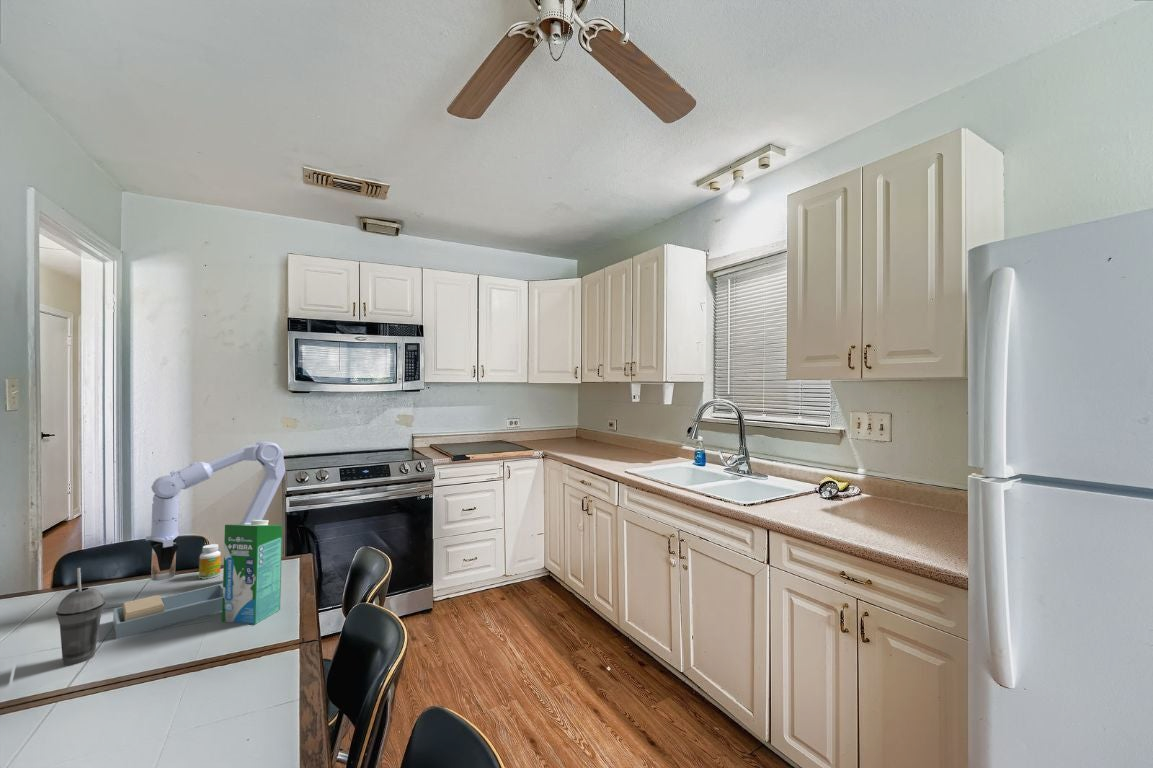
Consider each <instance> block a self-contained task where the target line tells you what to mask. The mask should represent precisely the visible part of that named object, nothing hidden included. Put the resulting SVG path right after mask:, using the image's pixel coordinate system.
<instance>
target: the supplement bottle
mask: <svg viewBox="0 0 1153 768" xmlns="http://www.w3.org/2000/svg"><path fill="white" fill-rule="evenodd" d="M221 558H222V554H221V551H219V544H216V543H212V544H206V545H203V546H202V553H200V555H199V561H198V562H199V566H198V568H199V569H198V578H199V579H200V578H202V579H201V580H207V579H206V578H209V579H213V577H214V578H216V577H218V576H220V575H219V574H221V561H222V560H221Z"/></svg>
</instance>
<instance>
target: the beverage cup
mask: <svg viewBox="0 0 1153 768" xmlns="http://www.w3.org/2000/svg"><path fill="white" fill-rule="evenodd" d="M76 573H77V575H76V577H77V589H75V590H73V591H71V592H70V593H68V594H66V596H65V597H63V599H61V601H60V602H59V604H58V606H57V611H56V613H55V614H56V616H57V621H58V624H59V632H60V643H61V644H60V645H61V657H62V662H63V665H64V666H73V665H78V664H81V663H84V662H87V661H89V660H90V659H93V658H94V656H95V652H96V650H97V644H98V639H99V632H100V631H99V630H100V624H101V618H102V617H101V616H102V614H103V611H104V608H105V607H104V606H105V604H106V602H105V599H104V595H103V594H102V592H101V591H100V590H99V589H97V588H93V587H82V573H81V567H78V568H76Z"/></svg>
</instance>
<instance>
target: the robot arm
mask: <svg viewBox="0 0 1153 768" xmlns="http://www.w3.org/2000/svg"><path fill="white" fill-rule="evenodd" d="M284 455H285V453H284V451H283V450H282V448H281V447H280V445H278V444H277V443H275V442H271V441H268V440H260V441H257V442H256V443H251V444H250V443H249V444H248V445H245V446H243V447H241V448H238V449H236V450H233V451H231V452H230V453H227V454H224V455H223V456H221V457H218V458H216V459H214V460H211V461H210V462H204V461H198V462H196V461H192V462H190V463H189V466H186V467H183V468H181V469H179V470H176V471H175V470H172V471H169V473H170V474H168V475H167V474H165V475H161V476H159V477H158V478H156V479H154V481H153V482H152V484H151V491H152V492H153V493H154V494H153V497H152V505H151V529H150V531H151V533H150V535H148V536H145V537H144V538H145V541H149V544H150V546H151V549H152V548H153V550H154V551H155V553H156V555H157V559H158V565H159V569H160V571H164V570H169V569H170V568H171V565H172V561H173V558H174V555H175V552H176V553H177V550H178V549H179V547H180V542H176V540H177V538H178V537H179V536H180V532H179V522H180V521H179V517H180V513H179V511H180V501H179V494H180V492H181V490H187V489H190V488H191V487H194V486H196V485H198V484H200V483H203V482H205V481H207V480H210V479H211V477H212V475H213V473H215V472H217V471H219V470H223V469H225V468H227V467H230V466H233V465H236V464H239V463H241V462H243V461H247V462H248V461H249V462H250V461H251V462H254V461H255V462H256V461H257V462H258V463H260V464H261V466H262V468H263V469H264V472H265V473H264V475H263V477H262V480H261V481H260V484H259V486H258V487H257V489H256V492H255V494H254V495H253V497H252V500H251V502H250V504H249V505H248V507H247V509H246V512H245V513H244V515H243V518H242V519H241V520H240V522H239V523H238V524H251V521H252V520H264V517H265V515H266V514H267V513H266V512H267V510H268V509H269V507H270V505H271V502H272V500H273V498H274V497H275V495H276V493H277V490H278V489H279V486H280V484H281V482H282V479H283V478H284V476H285V473H286V467H285V466H286V465H285V459H284ZM173 542H175V544H173ZM161 543H162V545H157V544H161ZM154 545H157V546H154ZM221 584H222V585H223V581H222V582H221Z"/></svg>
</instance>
